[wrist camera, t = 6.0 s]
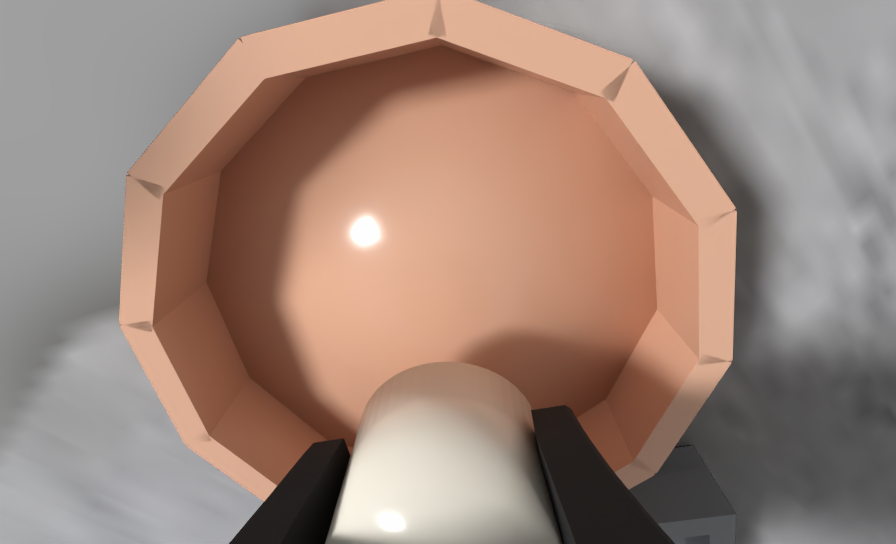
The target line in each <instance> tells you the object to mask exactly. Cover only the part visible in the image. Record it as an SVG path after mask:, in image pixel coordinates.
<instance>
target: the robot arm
mask: <svg viewBox="0 0 896 544" xmlns="http://www.w3.org/2000/svg"><path fill="white" fill-rule="evenodd" d="M531 413H532V419H533V425H534V430H535V436H536V440H537V445H538V450H539V455H540V460H541V465H542V470H543V474H544V479H545V482H546V485H547V489H548V492H549V496H550V499H551V503H552V507H553V510H554V514H555V517H556V521H557V524H558V528H559V532H560V536H561V540H562V544H675V543H674V542H673V540H672V539H671V538H670V537H669V536H668V535H667V534H666V533H665V532H664V531H663V530H662V528H661V527H660V526H659V525H658V524H657V523H656V522H655V520H654V519H653V518H652V517H651V516H650V515H649V514H648V512H647V511H646V510H645V509H644V508H643V507H642V505H641V504H640V503H639V502H638V500H637V499H636V498H635V497H634V496H633V494H632V493H631V492H630V491H629V490H628V488H627V487H626V486H625V485H624V483H623V482H622V481H621V480H620V479H619V477H618V476H617V475H616V474H615V472H614V471H613V470H612V468H611V467H610V466H609V465H608V463H607V462H606V461H605V459H604V458H603V456H602V455H601V454H600V452H599V451H598V450H597V448H596V447H595V446H594V444H593V443H592V441H591V440H590V438H589V437H588V435H587V434H586V432H585V431H584V429H583V428H582V426H581V425H580V423H579V421H578V420H577V418H576V416H575V415H574V413H573V411H572V409H570V408H569V407H567V406H566V405H562V406H555V407H548V408H542V409H535V410H531ZM349 459H350V453H349V450H348V448H347V445H346V442H345V440H344V438H342V439H335V440H328V441H322V442H315V443H313V444H312V445H311V446H310V447H309V448H308V449H307V451H306V452H305V453H304V454H303V455H302V456H301V458H300V459H299V460H298V461H297V462H296V464H295V465H294V466H293V467H292V468H291V470H290V471H289V472H288V473H287V475H286V476H285V477H284V478H283V479H282V481H281V482H280V483H279V484H278V486H277V487H276V488H275V489H274V490H273V492H272V493H271V494H270V495H269V497H268V498H267V499H266V500H265V501H264V503H263V504H262V505H261V506H260V507H259V509H258V510H257V511H256V512H255V513H254V515H253V516H252V517H251V518H250V519H249V521H248V522H247V523H246V524H245V525H244V527H243V528H242V529H241V530H240V531H239V532H238V534H237V535H236V536H235V537H234V538H233V540H232V541H231V542H230V543H229V544H325V542H326V539H327V535H328V532H329V528H330V525H331V521H332V518H333V514H334V511H335V508H336V504H337V501H338V497H339V494H340V490H341V487H342V483H343V480H344V476H345V473H346V470H347V466H348V463H349Z"/></svg>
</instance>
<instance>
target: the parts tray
mask: <svg viewBox="0 0 896 544" xmlns="http://www.w3.org/2000/svg"><path fill="white" fill-rule="evenodd" d="M629 491H630V492H631V493H632V494H633V496H634V497H635V498H636V499H637V500H638V502H639V503H640V504H641V505H642V507H643V508H644V509H645V510H646V511H647V512H648V514H649V515H650V516H651V517H652V518H653V519H654V520H655V522H656V523H657V524H658V525H659V526H660V527H661V528H662V530H663V531H664V532H665V533H666V534H667V535H668V536H669V537H670V538H671V539H672V540H673V542H674V543H675V544H735V533H736V513H735V511H734V510H733V508H732V507H731V505H730V503H729V502H728V500H727V499H726V497H725V495H724V494H723V492H722V491H721V489H720V487H719V486H718V484H717V483H716V481H715V479H714V478H713V476H712V475H711V473H710V471H709V470H708V468H707V467H706V465H705V463H704V462H703V460H702V459H701V457H700V455H699V454H698V452H697V451H696V449H695V447H694V446H685V447H678V448H674V449H673V450H672V452H671V453H670V455H669V456H668V457H667V459H666V460H665V462H664V463H663V465H662V466H661V468H660V469H659V471H658V472H657V473H655V475H654V476H652V477H650V478H649V479H647V480H645V481H643V482H641V483H640V484H638V485H636V486H634V487H632V488H631V489H629Z"/></svg>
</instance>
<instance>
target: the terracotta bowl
mask: <svg viewBox="0 0 896 544" xmlns="http://www.w3.org/2000/svg"><path fill="white" fill-rule="evenodd" d="M127 173H128V174H129V175H126V193H125V194H126V195H125V213H124V234H123V253H122V273H121V293H120V313H119V324H121V325H120V328H121V330H122V331H123V333H124V335H125V337H126V339H127V340H128V342H129V344H130V346H131V348H132V349H133V351H134V353H135V355H136V357H137V359H138V360H139V362H140V364H141V366H142V368H143V369H144V371H145V373H146V375H147V377H148V378H149V380H150V382H151V384H152V386H153V388H154V389H155V391H156V393H157V395H158V397H159V398H160V400H161V402H162V404H163V406H164V407H165V409H166V411H167V413H168V415H169V417H170V418H171V420H172V422H173V424H174V426H175V427H176V429H177V431H178V433H179V435H180V436H181V438H182V440H183V442H184V444H185V445H187V444H188V445H187V447H188V448H190V449H191V450H192V451H194V452H195V453H197V454H198V455H199V456H201V457H202V458H204V459H205V460H206V461H208V462H209V463H210V464H212V465H213V466H215V467H216V468H217V469H219V470H220V471H222V472H223V473H224V474H226V475H227V476H229V477H230V478H231V479H233V480H234V481H236V482H237V483H238V484H240V485H241V486H243V487H244V488H245V489H247V490H248V491H250V492H251V493H252V494H254V495H255V496H257V497H258V498H259V499H261V500H262V501H265V500H266V499H267V498H268V497H269V495H270V494H271V493H272V492H273V490H274V489H275V488H276V487H277V486H278V484H279V483H280V482H281V481H282V479H283V478H284V477H285V476H286V475H287V473H288V472H289V471H290V470H291V468H292V467H293V466H294V465H295V464H296V462H297V461H298V460H299V459H300V458H301V456H302V455H303V454H304V453H305V452H306V451H307V449H308V448H309V447H310V446H311V445H312V444H313V443H315V442H322V441H328V440H335V439H342V438H344V440H345V442H346V445H347V448H348V450H349V453H350V456H351V452H352V449H353V445H354V442H355V439H356V435H357V432H358V428H359V425H360V421H361V418H362V414H363V412H364V409H365V407H366V404H367V403H368V401H369V399H370V398H371V396H372V395H373V394H374V392H375V391H376V390H377V389H378V388H379V387H380V386H381V385H382V384H383V383H384V382H385V381H387V380H388V379H390V378H391V377H393V376H394V375H396V374H398V373H400V372H402V371H404V370H406V369H409V368H412V367H415V366H418V365H422V364H427V363H434V362H460V363H467V364H472V365H476V366H480V367H482V368H485V369H488V370H490V371H492V372H495V373H497V374H499V375H500V376H502V377H504V378H505V379H507V380H508V381H510V382H511V383H512V384H513V385H514V386H515V387H517V388H518V389H519V390H520V392H521V393H522V394H523V395H524V396H525V398H526V399H527V401H528V402H529V404H530V405H531V408H532V410H535V409H542V408H548V407H555V406H562V405H566V406H567V407H569V408H570V409H572V411H573V413H574V415H575V416H576V418H577V420H578V421H579V423H580V425H581V426H582V428H583V429H584V431H585V432H586V434H587V435H588V437H589V438H590V440H591V441H592V443H593V444H594V446H595V447H596V448H597V450H598V451H599V452H600V454H601V455H602V456H603V458H604V459H605V461H606V462H607V463H608V465H609V466H610V467H611V468H612V470H613V471H614V472H615V474H616V475H617V476H618V477H619V479H620V480H621V481H622V482H623V483H624V485H625V486H626V487H627V488H628V490H629V489H631V488H632V487H634V486H636V485H638V484H640V483H641V482H643V481H645V480H647V479H649V478H650V477H652V476H654V475H655V473H657V472H658V471H659V469H660V468H661V466H662V465H663V463H664V462H665V460H666V459H667V457H668V456H669V455H670V453H671V452H672V450H673V449H674V447H675V446H676V444H677V443H678V441H679V440H680V438H681V437H682V435H683V434H684V432H685V431H686V429H687V428H688V427H689V425H690V424H691V422H692V421H693V419H694V418H695V416H696V415H697V413H698V412H699V410H700V409H701V407H702V406H703V404H704V403H705V401H706V400H707V398H708V397H709V396H710V394H711V393H712V391H713V390H714V388H715V387H716V385H717V384H718V382H719V381H720V379H721V378H722V376H723V375H724V373H725V372H726V370H727V369H728V368H729V366H730V365H731V363H732V362H731V361H732V360H733V330H734V295H735V260H736V225H737V211H736V210H735V209H736V207H735V206H734V204H733V203H732V202H731V200H730V199H729V197H728V196H727V194H726V193H725V191H724V190H723V188H722V187H721V185H720V184H719V183H718V181H717V180H716V178H715V177H714V175H713V174H712V172H711V171H710V169H709V168H708V166H707V165H706V164H705V162H704V161H703V159H702V158H701V156H700V155H699V153H698V152H697V150H696V149H695V147H694V146H693V144H692V143H691V142H690V140H689V139H688V137H687V136H686V134H685V133H684V131H683V130H682V128H681V127H680V125H679V124H678V123H677V121H676V120H675V118H674V117H673V115H672V114H671V112H670V111H669V109H668V108H667V106H666V105H665V104H664V102H663V101H662V99H661V98H660V96H659V95H658V93H657V92H656V90H655V89H654V87H653V86H652V85H651V83H650V82H649V80H648V79H647V77H646V76H645V74H644V73H643V71H642V70H641V68H640V67H639V66H638V64H637V63H636V61H633V59H631V58H628V57H626V56H623V55H620V54H617V53H615V52H612V51H609V50H607V49H604V48H601V47H599V46H596V45H593V44H591V43H588V42H585V41H583V40H580V39H577V38H575V37H572V36H569V35H566V34H564V33H561V32H558V31H556V30H553V29H550V28H548V27H545V26H542V25H540V24H537V23H534V22H532V21H529V20H526V19H524V18H521V17H518V16H515V15H513V14H510V13H507V12H505V11H502V10H499V9H497V8H494V7H491V6H489V5H486V4H483V3H481V2H478V1H475V0H385V1H381V2H377V3H373V4H369V5H365V6H361V7H357V8H353V9H349V10H345V11H341V12H337V13H333V14H329V15H325V16H321V17H317V18H313V19H309V20H305V21H301V22H297V23H293V24H290V25H285V26H281V27H277V28H274V29H269V30H266V31H262V32H258V33H254V34H250V35H246V36H242V37H241V39H237V40H236V42H235V43H234V44H233V45H232V46H231V48H230V49H229V50H228V51H227V52H226V54H225V55H224V56H223V57H222V58H221V60H220V61H219V62H218V63H217V65H216V66H215V67H214V68H213V69H212V71H211V72H210V73H209V74H208V76H207V77H206V78H205V79H204V81H203V82H202V83H201V84H200V85H199V86H198V88H197V89H196V90H195V91H194V92H193V94H192V95H191V96H190V97H189V98H188V100H187V101H186V102H185V103H184V105H183V106H182V107H181V108H180V109H179V111H178V112H177V113H176V114H175V115H174V117H173V118H172V119H171V120H170V122H169V123H168V124H167V125H166V126H165V128H164V129H163V130H162V131H161V132H160V134H159V135H158V136H157V137H156V139H155V140H154V141H153V142H152V143H151V145H150V146H149V147H148V148H147V149H146V151H145V152H144V153H143V154H142V155H141V157H140V158H139V159H138V160H137V162H136V163H135V164H134V165H133V167H132V168H131V169H130V170H129V171H128V172H127Z"/></svg>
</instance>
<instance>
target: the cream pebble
mask: <svg viewBox="0 0 896 544" xmlns="http://www.w3.org/2000/svg"><path fill="white" fill-rule="evenodd" d="M531 410H532V408H531V405H530V404H529V402H528V401H527V399H526V398H525V396H524V395H523V394H522V393H521V392H520V390H519V389H518V388H517V387H515V386H514V385H513V384H512V383H511V382H510V381H508V380H507V379H505V378H504V377H502V376H500V375H499V374H497V373H495V372H492V371H490V370H488V369H485V368H482V367H480V366H476V365H472V364H467V363H460V362H434V363H427V364H422V365H418V366H415V367H412V368H409V369H406V370H404V371H402V372H400V373H398V374H396V375H394V376H393V377H391V378H390V379H388V380H387V381H385V382H384V383H383V384H382V385H381V386H380V387H379V388H378V389H377V390H376V391H375V392H374V394H373V395H372V396H371V398H370V399H369V401H368V403H367V404H366V407H365V409H364V412H363V414H362V418H361V421H360V425H359V428H358V432H357V435H356V439H355V442H354V445H353V449H352V452H351V456H350V459H349V463H348V466H347V470H346V473H345V476H344V480H343V483H342V487H341V490H340V494H339V497H338V501H337V504H336V508H335V511H334V514H333V518H332V521H331V525H330V528H329V532H328V535H327V539H326V542H325V544H562V540H561V536H560V532H559V528H558V524H557V521H556V517H555V514H554V510H553V507H552V503H551V499H550V496H549V492H548V489H547V485H546V482H545V479H544V474H543V470H542V465H541V460H540V455H539V450H538V445H537V440H536V436H535V430H534V425H533V419H532V413H531Z"/></svg>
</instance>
